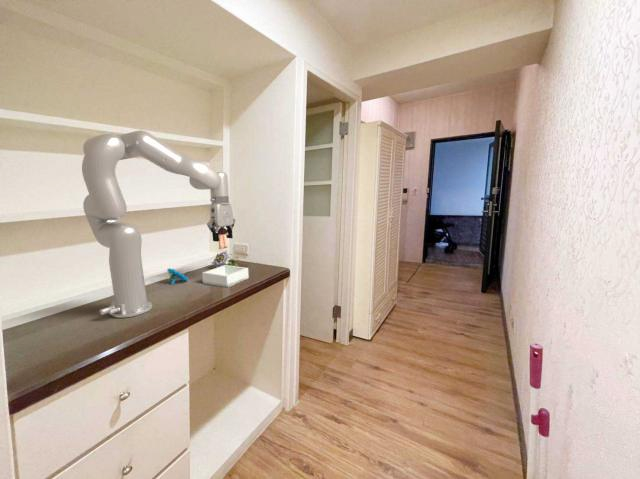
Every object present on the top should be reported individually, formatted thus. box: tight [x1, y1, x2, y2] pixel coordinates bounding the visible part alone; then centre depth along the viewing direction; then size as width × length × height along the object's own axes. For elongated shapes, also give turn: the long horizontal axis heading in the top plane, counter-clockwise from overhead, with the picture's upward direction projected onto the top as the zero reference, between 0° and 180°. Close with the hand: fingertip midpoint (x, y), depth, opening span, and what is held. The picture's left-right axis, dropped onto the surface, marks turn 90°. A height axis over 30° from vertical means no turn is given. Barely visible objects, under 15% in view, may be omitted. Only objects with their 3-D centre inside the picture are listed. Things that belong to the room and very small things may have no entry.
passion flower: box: [211, 249, 240, 268], centre depth 160 cm, size 11×11×12 cm
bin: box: [201, 264, 250, 288], centre depth 140 cm, size 14×14×5 cm
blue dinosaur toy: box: [167, 267, 190, 285], centre depth 138 cm, size 11×6×10 cm
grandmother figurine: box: [218, 226, 229, 250], centre depth 137 cm, size 8×4×13 cm, turn 170°
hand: (223, 239), depth 137 cm, fingers closed on grandmother figurine, 7 cm apart
